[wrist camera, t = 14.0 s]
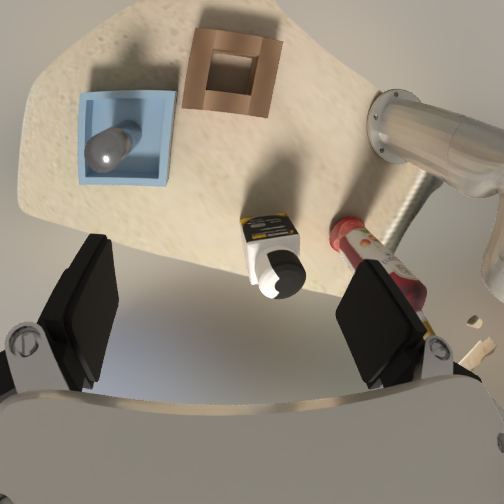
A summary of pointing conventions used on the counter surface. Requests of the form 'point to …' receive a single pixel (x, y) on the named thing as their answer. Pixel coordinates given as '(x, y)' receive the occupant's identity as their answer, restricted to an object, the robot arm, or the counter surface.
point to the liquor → (368, 247)
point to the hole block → (238, 45)
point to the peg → (112, 146)
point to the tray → (152, 141)
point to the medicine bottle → (272, 254)
